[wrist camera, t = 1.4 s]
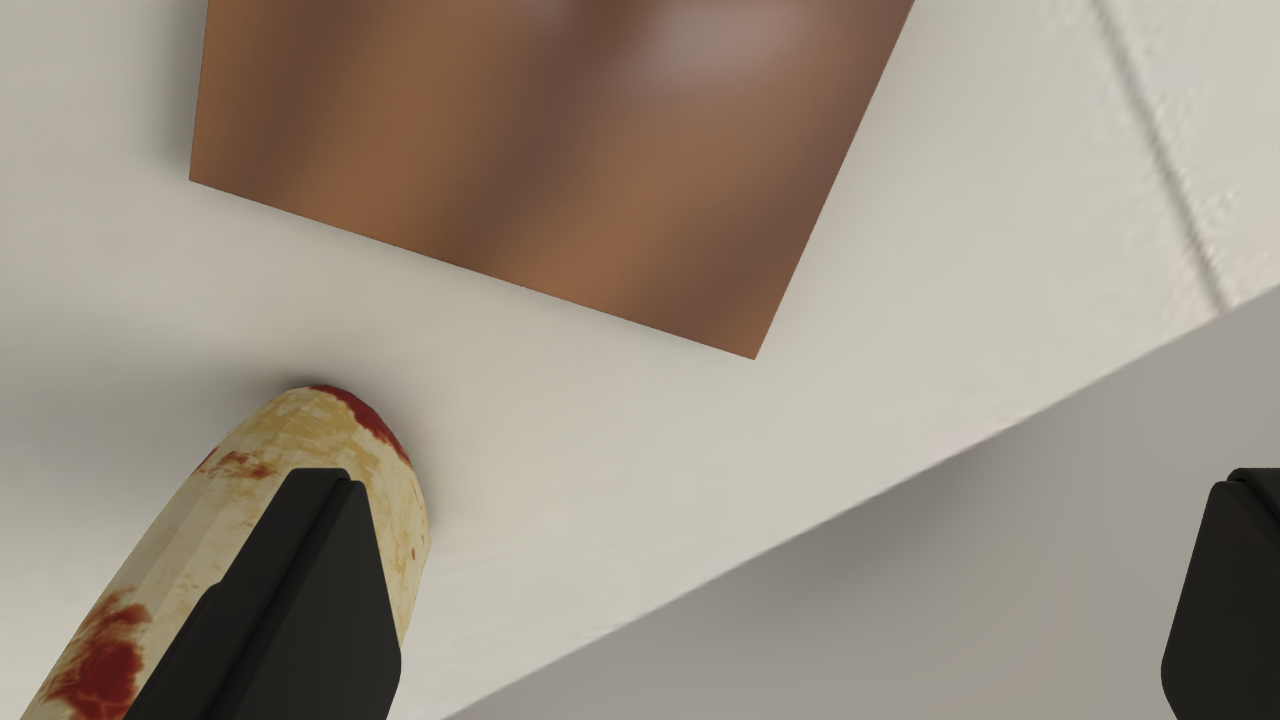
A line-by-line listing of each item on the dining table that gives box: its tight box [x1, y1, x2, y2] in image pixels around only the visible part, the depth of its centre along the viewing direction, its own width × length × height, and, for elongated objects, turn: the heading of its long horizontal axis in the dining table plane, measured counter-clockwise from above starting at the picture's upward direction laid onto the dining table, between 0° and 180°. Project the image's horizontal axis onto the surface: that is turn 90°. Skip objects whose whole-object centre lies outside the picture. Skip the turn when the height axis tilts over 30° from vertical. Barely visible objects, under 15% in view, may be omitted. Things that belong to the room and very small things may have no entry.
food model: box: [20, 385, 431, 720], centre depth 31 cm, size 10×7×20 cm
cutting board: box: [189, 0, 915, 360], centre depth 32 cm, size 20×13×2 cm, turn 72°
